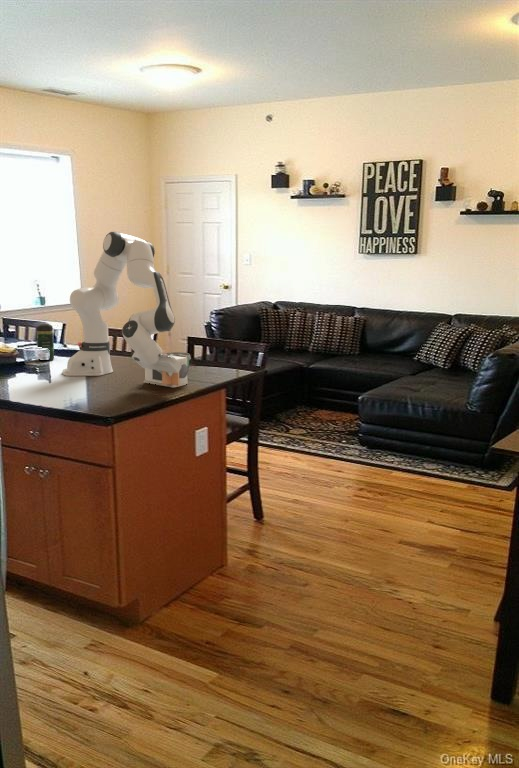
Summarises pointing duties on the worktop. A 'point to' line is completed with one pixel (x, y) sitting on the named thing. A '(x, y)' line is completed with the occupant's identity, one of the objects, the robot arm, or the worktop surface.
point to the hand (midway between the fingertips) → (167, 374)
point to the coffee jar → (45, 338)
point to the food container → (181, 356)
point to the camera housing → (156, 376)
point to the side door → (170, 379)
